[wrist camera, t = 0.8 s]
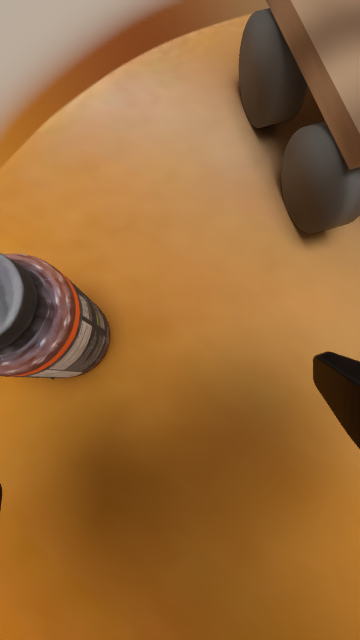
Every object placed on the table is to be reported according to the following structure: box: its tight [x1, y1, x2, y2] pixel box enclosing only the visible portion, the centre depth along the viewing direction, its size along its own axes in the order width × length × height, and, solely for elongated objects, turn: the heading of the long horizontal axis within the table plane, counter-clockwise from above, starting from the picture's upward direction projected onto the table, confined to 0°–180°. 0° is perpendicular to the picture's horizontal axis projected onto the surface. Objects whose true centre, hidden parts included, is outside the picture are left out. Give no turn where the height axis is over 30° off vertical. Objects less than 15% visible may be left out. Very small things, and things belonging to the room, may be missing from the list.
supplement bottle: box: [0, 253, 110, 380], centre depth 17 cm, size 6×6×11 cm
